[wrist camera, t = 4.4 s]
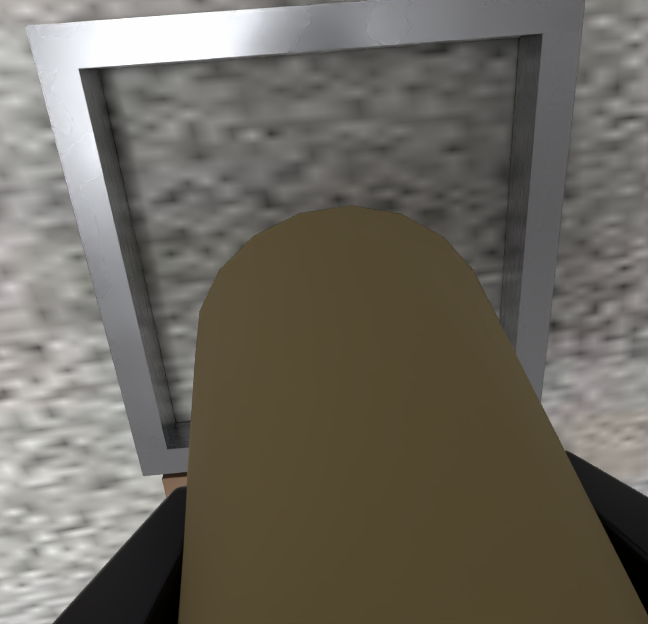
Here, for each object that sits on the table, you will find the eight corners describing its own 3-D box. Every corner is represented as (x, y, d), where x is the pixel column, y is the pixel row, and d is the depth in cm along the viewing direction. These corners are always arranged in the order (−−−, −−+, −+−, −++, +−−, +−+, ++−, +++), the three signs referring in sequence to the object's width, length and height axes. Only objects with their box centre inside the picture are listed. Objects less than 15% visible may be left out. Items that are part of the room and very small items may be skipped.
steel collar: (519, 413, 20) (537, 438, 19) (153, 448, 20) (143, 476, 18) (558, -7, 14) (587, -16, 13) (51, 30, 14) (24, 25, 13)
